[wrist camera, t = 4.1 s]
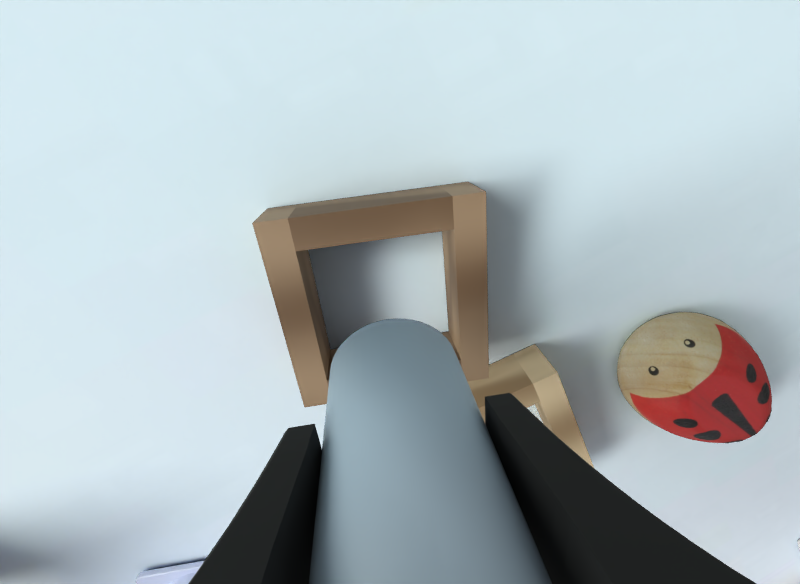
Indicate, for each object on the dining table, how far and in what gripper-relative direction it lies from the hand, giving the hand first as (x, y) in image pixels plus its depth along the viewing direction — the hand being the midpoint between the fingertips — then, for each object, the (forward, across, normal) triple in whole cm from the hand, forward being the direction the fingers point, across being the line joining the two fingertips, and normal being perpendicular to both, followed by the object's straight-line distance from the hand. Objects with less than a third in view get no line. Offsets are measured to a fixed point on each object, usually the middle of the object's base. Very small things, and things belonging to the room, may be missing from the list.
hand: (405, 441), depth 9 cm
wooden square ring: (+9, 0, 0) cm, 9 cm away
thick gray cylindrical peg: (+3, 0, 0) cm, 3 cm away
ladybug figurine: (+10, -16, +8) cm, 21 cm away
